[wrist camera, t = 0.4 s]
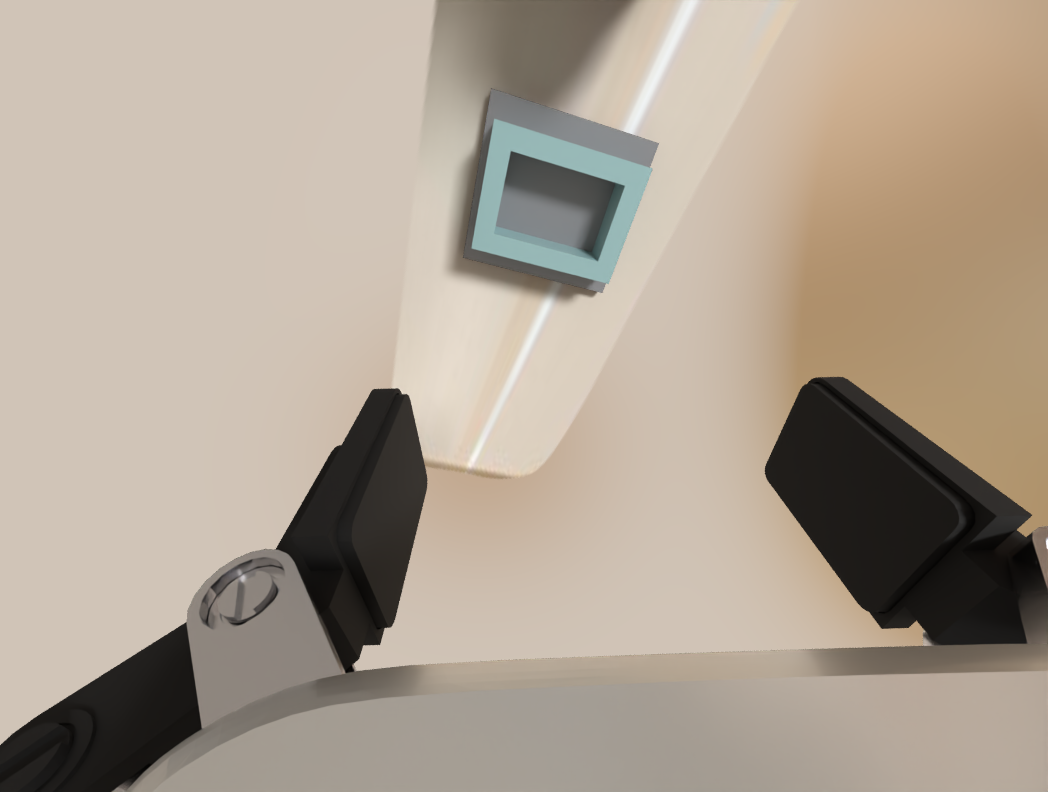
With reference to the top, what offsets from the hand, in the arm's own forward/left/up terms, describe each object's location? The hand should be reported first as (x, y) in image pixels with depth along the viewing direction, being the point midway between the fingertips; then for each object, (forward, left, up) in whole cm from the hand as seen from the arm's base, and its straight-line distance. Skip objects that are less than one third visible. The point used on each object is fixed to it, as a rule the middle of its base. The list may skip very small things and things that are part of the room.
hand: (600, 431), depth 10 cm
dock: (-2, +1, -28) cm, 29 cm away
